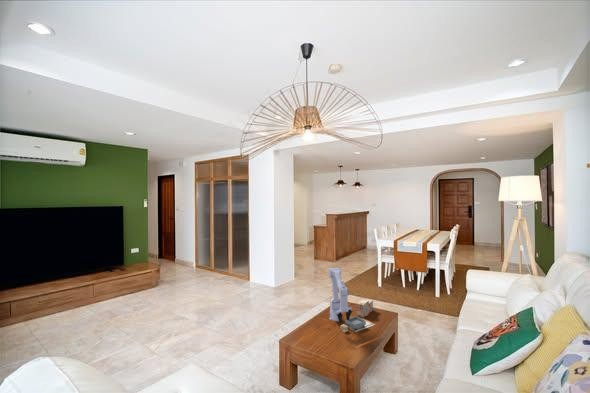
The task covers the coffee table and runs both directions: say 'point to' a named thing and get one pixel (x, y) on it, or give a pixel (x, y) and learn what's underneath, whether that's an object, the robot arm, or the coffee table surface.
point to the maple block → (344, 328)
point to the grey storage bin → (355, 322)
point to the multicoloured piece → (364, 307)
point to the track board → (362, 326)
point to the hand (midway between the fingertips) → (344, 320)
